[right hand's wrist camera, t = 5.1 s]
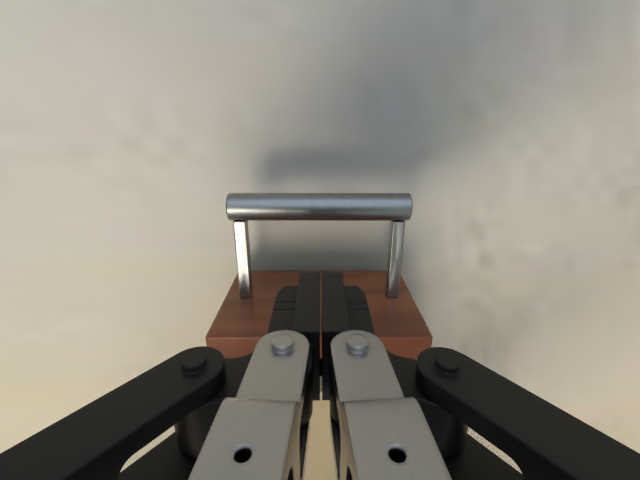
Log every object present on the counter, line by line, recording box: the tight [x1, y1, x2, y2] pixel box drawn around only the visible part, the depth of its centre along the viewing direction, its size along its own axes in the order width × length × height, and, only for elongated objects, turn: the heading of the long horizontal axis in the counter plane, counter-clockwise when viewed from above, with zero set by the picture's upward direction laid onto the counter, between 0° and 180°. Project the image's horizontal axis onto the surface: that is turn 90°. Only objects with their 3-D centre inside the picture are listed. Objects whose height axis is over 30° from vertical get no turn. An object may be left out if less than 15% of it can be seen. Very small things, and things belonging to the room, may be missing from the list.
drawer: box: [206, 193, 432, 376], centre depth 20 cm, size 20×10×7 cm, turn 0°
